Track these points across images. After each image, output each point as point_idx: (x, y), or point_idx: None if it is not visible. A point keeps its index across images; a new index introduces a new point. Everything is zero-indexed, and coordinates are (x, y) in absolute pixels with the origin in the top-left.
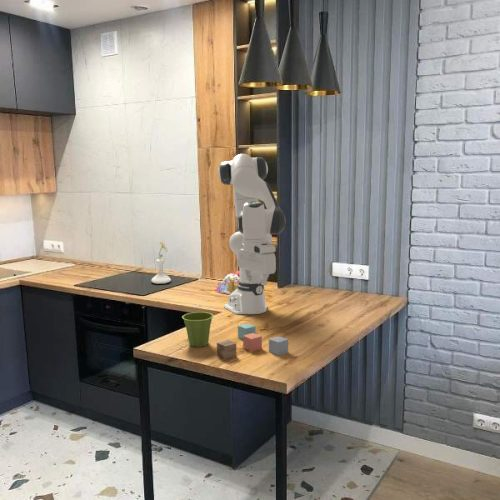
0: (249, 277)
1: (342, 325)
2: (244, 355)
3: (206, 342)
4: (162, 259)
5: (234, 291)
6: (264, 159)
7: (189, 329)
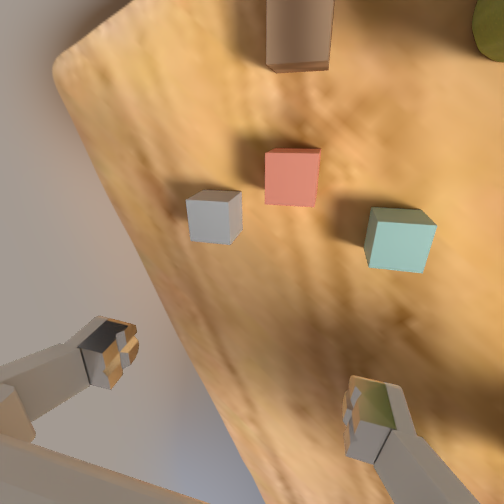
0: (354, 422)
1: (266, 425)
2: (264, 104)
3: (475, 24)
4: None
5: None
6: None
7: None
